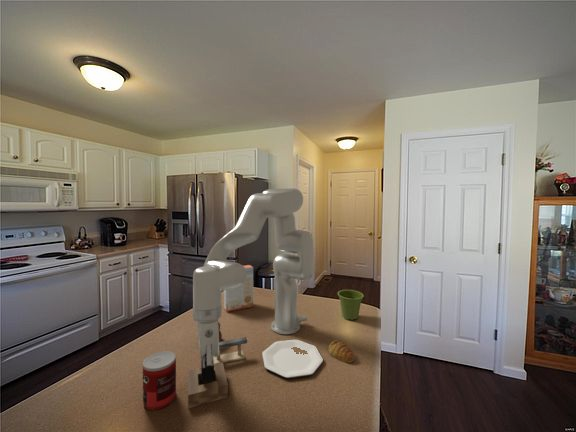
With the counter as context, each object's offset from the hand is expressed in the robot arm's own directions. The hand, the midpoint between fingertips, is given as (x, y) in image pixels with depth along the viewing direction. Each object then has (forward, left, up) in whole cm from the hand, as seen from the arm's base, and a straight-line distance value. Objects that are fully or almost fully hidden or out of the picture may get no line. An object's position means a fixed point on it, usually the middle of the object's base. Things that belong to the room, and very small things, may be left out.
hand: (207, 374), depth 69 cm
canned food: (+12, -1, -5) cm, 13 cm away
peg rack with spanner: (-8, -12, -4) cm, 15 cm away
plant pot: (-66, -23, -5) cm, 70 cm away
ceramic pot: (-3, -25, -5) cm, 25 cm away
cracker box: (-19, -52, -5) cm, 55 cm away
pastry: (-45, 0, -5) cm, 45 cm away
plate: (-28, -4, -5) cm, 29 cm away
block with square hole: (0, 0, -4) cm, 4 cm away
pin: (0, 0, -3) cm, 3 cm away
